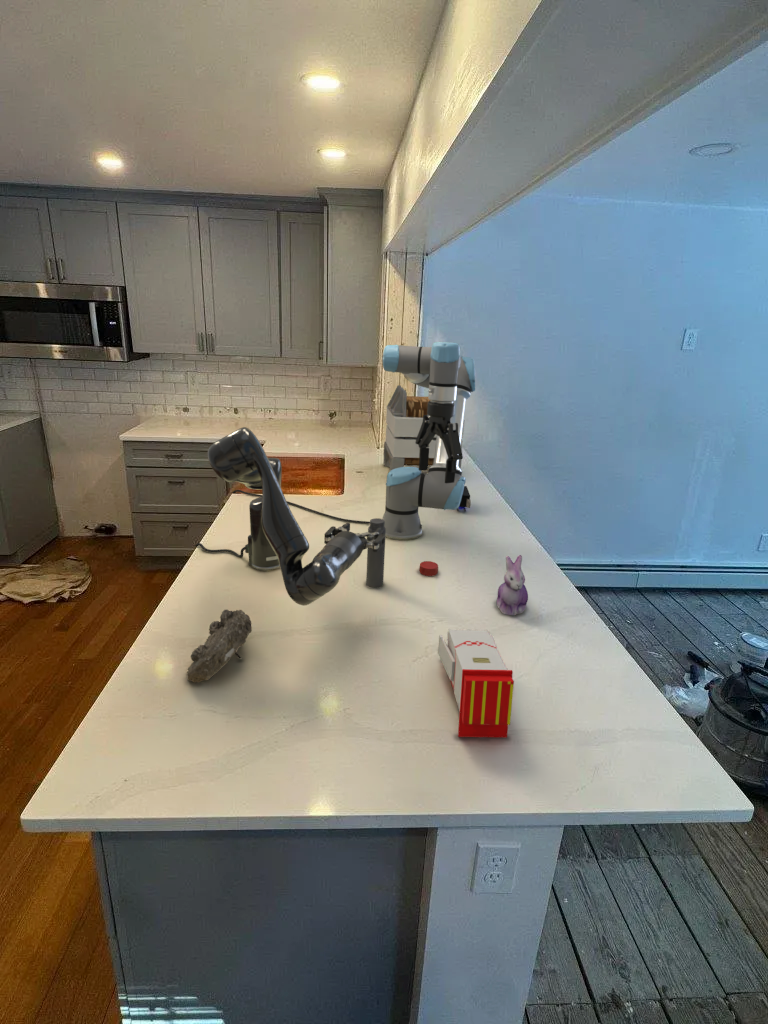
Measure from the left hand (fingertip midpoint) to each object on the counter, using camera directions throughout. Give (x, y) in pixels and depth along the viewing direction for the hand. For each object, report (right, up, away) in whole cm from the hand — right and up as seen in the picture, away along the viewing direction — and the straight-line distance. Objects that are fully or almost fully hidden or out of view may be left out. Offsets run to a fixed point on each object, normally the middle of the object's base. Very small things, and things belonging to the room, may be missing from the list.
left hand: (364, 528), depth 146 cm
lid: (+19, -12, +25) cm, 34 cm away
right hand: (+20, +15, +16) cm, 29 cm away
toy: (+23, -33, -27) cm, 49 cm away
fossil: (-31, -28, -19) cm, 46 cm away
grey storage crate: (+22, +23, +129) cm, 133 cm away
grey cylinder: (+2, -16, +17) cm, 24 cm away
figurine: (+40, -22, +7) cm, 46 cm away
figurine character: (+36, +6, +84) cm, 91 cm away
